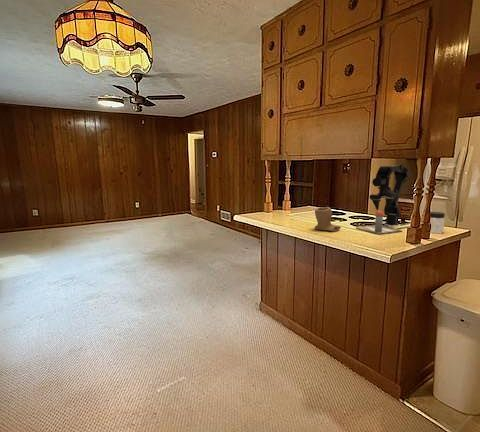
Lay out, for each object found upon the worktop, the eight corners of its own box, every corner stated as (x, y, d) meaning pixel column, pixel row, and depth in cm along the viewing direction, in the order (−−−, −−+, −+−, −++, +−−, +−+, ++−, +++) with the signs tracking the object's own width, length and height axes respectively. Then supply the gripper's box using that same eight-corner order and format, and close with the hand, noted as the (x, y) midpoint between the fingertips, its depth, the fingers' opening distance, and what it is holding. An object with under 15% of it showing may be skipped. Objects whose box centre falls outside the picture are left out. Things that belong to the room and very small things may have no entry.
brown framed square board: (377, 226, 201) (377, 223, 201) (402, 231, 184) (402, 229, 184) (355, 228, 194) (355, 226, 194) (379, 235, 177) (379, 232, 177)
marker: (378, 230, 184) (379, 210, 182) (383, 231, 180) (384, 211, 178) (373, 231, 182) (374, 211, 180) (378, 232, 178) (379, 212, 176)
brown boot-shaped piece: (310, 230, 192) (311, 207, 189) (319, 227, 200) (320, 205, 197) (332, 233, 181) (333, 209, 179) (341, 230, 190) (342, 207, 187)
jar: (428, 233, 180) (430, 213, 178) (424, 230, 188) (426, 211, 186) (445, 234, 178) (447, 214, 175) (440, 230, 185) (442, 212, 183)
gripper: (383, 187, 182) (381, 212, 185) (405, 185, 189) (403, 210, 192) (369, 185, 192) (368, 209, 195) (390, 184, 199) (389, 207, 202)
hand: (382, 209), depth 196 cm, fingers open, 9 cm apart
